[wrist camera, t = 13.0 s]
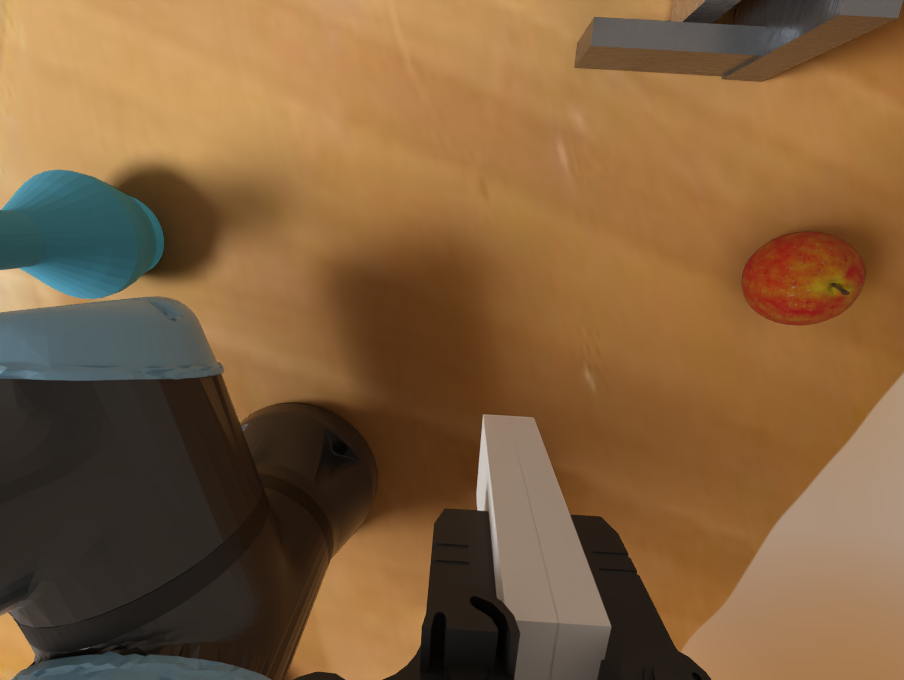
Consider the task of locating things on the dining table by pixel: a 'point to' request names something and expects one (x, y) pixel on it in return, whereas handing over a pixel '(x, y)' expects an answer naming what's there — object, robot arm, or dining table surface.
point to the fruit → (803, 278)
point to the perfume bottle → (78, 234)
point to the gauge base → (733, 38)
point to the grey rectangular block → (700, 10)
